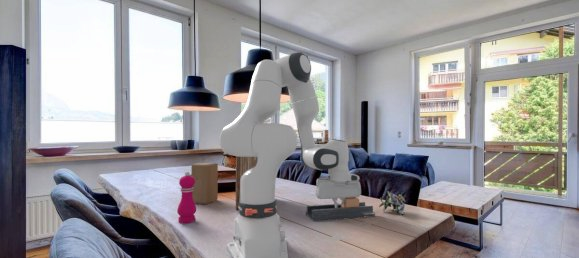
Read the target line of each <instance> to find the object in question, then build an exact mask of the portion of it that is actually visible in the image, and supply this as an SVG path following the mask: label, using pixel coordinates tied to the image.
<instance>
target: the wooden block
mask: <svg viewBox="0 0 579 258" xmlns="http://www.w3.org/2000/svg"><path fill="white" fill-rule="evenodd" d="M190 171H191V175H190V176H192V177H194V179H195V184H194V185H193V187H194V188H193V190H194V191H193V192H192V196H193V200H194V203H195V204H198V205H200V204H201V205H208V204H210V203H213V202H215V201H217V200H218V197H219V196H218V195H219V194H218V189H219V188H218V187H219V185H218V183H219V181H218V180H219V179H218V178H219V177H218V176H219V164H218V163H217V162H197V163H193V164H191V170H190Z"/></svg>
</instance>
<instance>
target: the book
mask: <svg viewBox="0 0 579 258" xmlns="http://www.w3.org/2000/svg"><path fill="white" fill-rule="evenodd" d="M257 160H258V157H238V156H235V211H237V210H239V208H238V206H239V201H240V180H241V177H242V175H243V174H244V173H245V172H246V171H248V170H249V169H251V168H253V167H255V166H256V164H257Z"/></svg>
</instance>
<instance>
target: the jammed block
mask: <svg viewBox="0 0 579 258" xmlns="http://www.w3.org/2000/svg"><path fill="white" fill-rule="evenodd" d="M359 202H360V199H359V197H348V198H345V201H344V202H343V204H342V208H347V207H359Z"/></svg>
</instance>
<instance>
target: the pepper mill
mask: <svg viewBox="0 0 579 258" xmlns="http://www.w3.org/2000/svg"><path fill="white" fill-rule="evenodd" d="M178 183H179V186H180V192H181V198H180V202H179V204H178V206H177V215H179V217H178V223H179V224H190V223H194V222H195V221H196V216H195V214H196V213H197V206H196V203H194V200H193V196H192V192H193V191H194V190H193V188H194V187H193V185H194V184H195V179H194V177H192V176H191V175H190V172H189V171H186V172H184V175H183V176H181V177H180V179H179V181H178Z"/></svg>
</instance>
